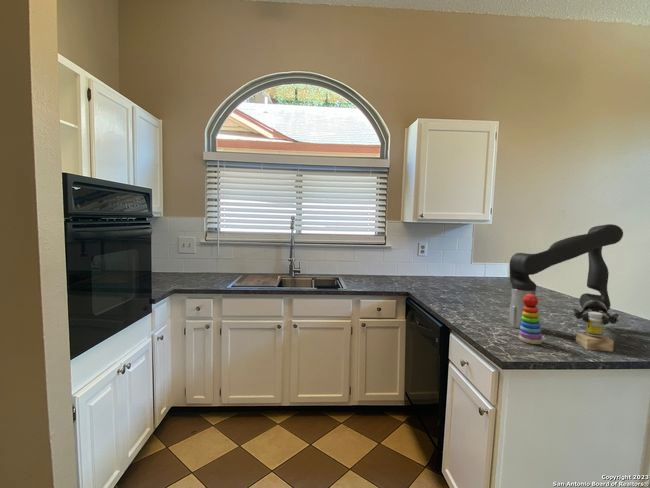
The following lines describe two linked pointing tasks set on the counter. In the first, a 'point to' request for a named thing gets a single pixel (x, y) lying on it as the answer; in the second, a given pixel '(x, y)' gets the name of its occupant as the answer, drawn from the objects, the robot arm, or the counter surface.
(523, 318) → the stacking toy
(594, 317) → the supplement bottle
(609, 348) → the oak block
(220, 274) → the counter surface
